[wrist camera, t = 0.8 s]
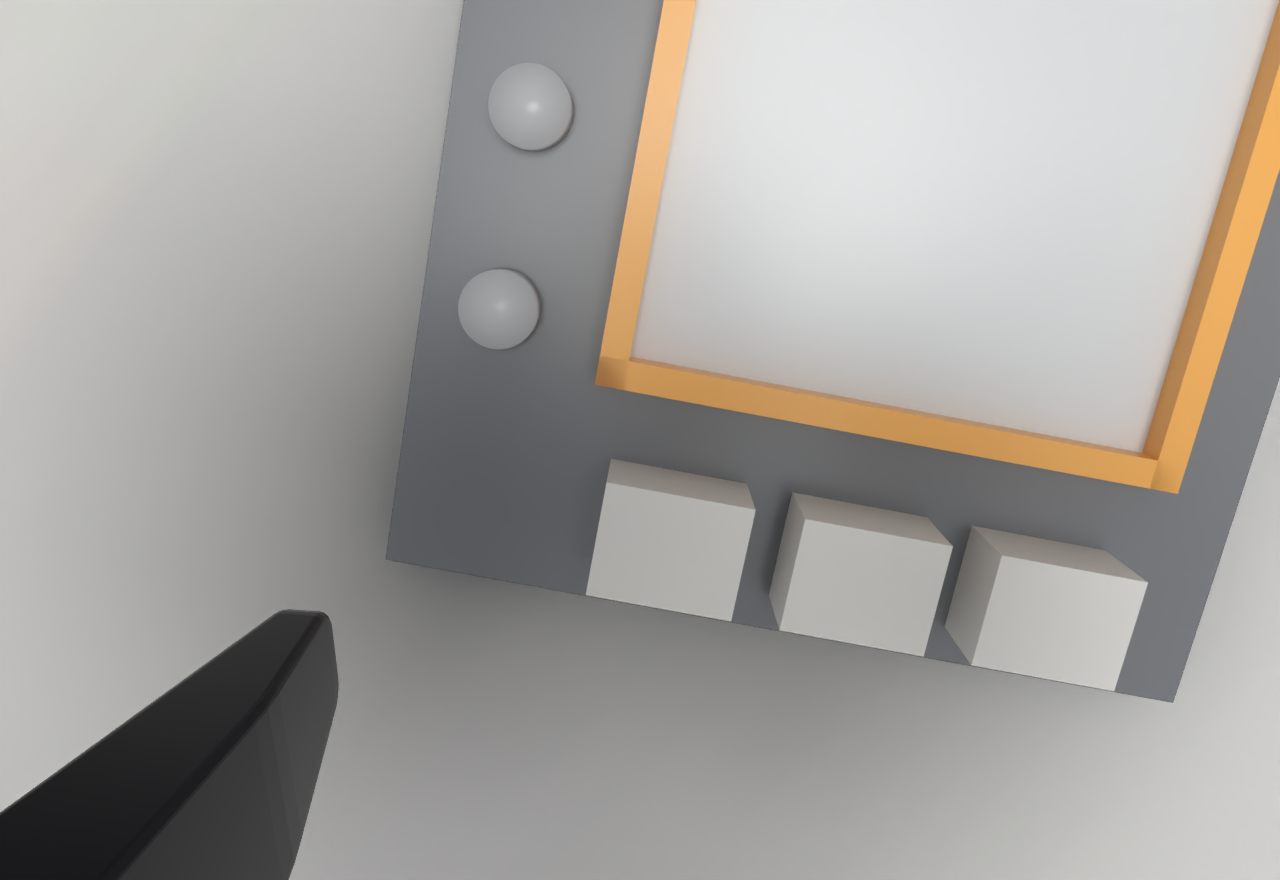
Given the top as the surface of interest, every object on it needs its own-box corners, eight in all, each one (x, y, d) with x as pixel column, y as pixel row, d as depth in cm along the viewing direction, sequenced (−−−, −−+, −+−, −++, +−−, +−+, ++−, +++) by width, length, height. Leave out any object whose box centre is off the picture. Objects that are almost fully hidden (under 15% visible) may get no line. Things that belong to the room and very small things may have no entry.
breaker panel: (1152, 683, 24) (1220, 747, 21) (396, 545, 24) (360, 591, 21) (1417, -144, 20) (1546, -204, 17) (520, -327, 20) (496, -420, 17)
